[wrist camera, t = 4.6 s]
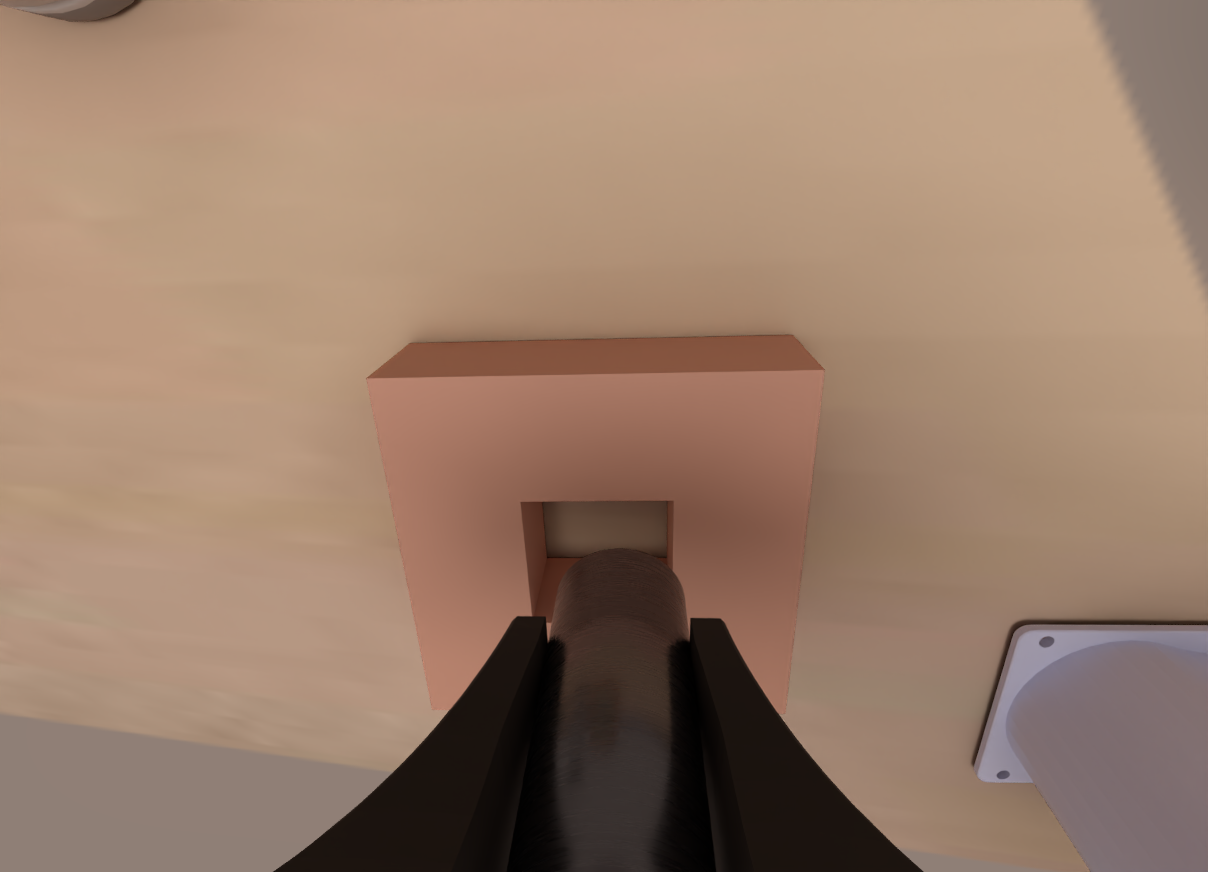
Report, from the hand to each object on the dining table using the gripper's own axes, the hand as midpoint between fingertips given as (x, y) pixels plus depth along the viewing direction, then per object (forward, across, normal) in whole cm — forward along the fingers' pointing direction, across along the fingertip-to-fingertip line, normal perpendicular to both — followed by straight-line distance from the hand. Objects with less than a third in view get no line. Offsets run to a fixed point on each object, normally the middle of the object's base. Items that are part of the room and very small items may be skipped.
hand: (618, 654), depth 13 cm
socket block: (+9, +1, +2) cm, 9 cm away
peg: (+2, 0, 0) cm, 2 cm away
